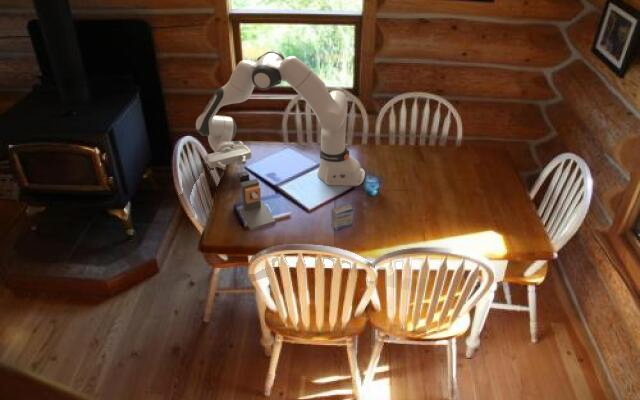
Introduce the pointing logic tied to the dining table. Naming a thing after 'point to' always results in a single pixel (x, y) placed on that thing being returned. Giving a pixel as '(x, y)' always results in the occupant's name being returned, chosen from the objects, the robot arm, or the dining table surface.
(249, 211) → the bearing stand
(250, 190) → the spacer
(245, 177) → the shaft
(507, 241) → the dining table surface
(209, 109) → the robot arm
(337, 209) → the medicine box
